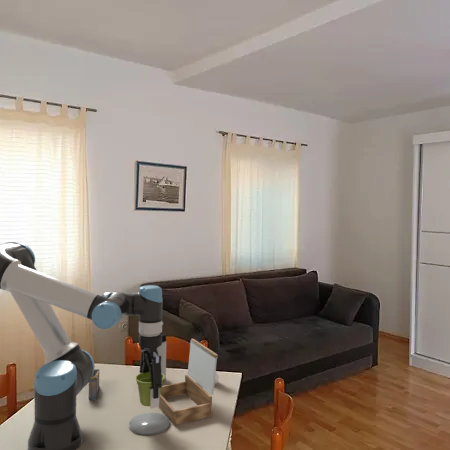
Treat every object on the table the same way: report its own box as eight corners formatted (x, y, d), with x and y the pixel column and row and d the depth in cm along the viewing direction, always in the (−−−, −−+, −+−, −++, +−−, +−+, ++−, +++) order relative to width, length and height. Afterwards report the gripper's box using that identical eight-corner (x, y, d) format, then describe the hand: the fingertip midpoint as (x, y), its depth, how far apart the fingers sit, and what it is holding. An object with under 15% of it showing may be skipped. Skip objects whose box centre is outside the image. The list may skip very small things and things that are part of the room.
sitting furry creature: (203, 377, 186) (204, 349, 186) (222, 380, 183) (223, 352, 183) (194, 385, 178) (194, 356, 177) (213, 388, 174) (214, 359, 174)
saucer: (136, 438, 136) (136, 435, 136) (124, 420, 147) (124, 417, 147) (175, 429, 142) (175, 426, 142) (161, 412, 153) (161, 409, 153)
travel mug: (146, 381, 181) (147, 333, 180) (157, 376, 186) (158, 329, 185) (157, 385, 177) (158, 336, 176) (168, 379, 183) (169, 332, 182)
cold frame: (173, 425, 145) (173, 404, 144) (152, 399, 164) (152, 381, 163) (211, 416, 151) (211, 396, 151) (186, 392, 170) (187, 374, 170)
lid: (215, 354, 151) (217, 354, 152) (190, 338, 170) (193, 338, 170) (211, 394, 151) (214, 394, 152) (187, 374, 170) (189, 374, 170)
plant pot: (158, 410, 139) (158, 383, 138) (130, 407, 141) (130, 380, 140) (168, 398, 148) (168, 372, 148) (141, 395, 150) (142, 370, 149)
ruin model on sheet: (97, 400, 163) (97, 374, 163) (88, 400, 163) (89, 375, 162) (100, 388, 174) (100, 363, 174) (92, 388, 174) (92, 364, 173)
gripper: (173, 340, 136) (172, 412, 137) (151, 324, 155) (150, 388, 155) (149, 343, 132) (149, 417, 133) (130, 327, 151) (130, 392, 152)
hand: (150, 401), depth 144 cm, fingers closed on plant pot, 8 cm apart
